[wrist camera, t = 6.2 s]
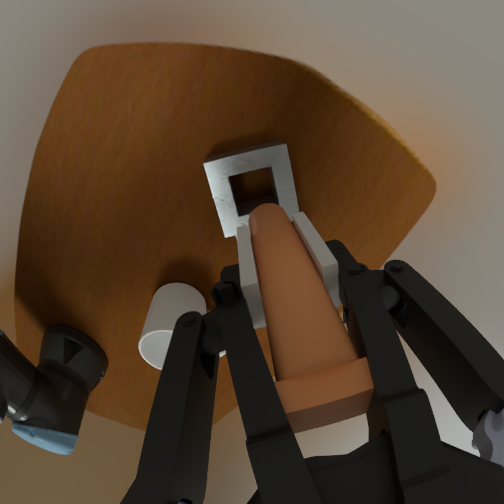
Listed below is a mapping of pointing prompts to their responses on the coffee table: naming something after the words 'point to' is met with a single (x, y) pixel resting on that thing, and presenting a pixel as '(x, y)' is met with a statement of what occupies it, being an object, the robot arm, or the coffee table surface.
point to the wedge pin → (305, 329)
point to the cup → (167, 319)
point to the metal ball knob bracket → (244, 161)
